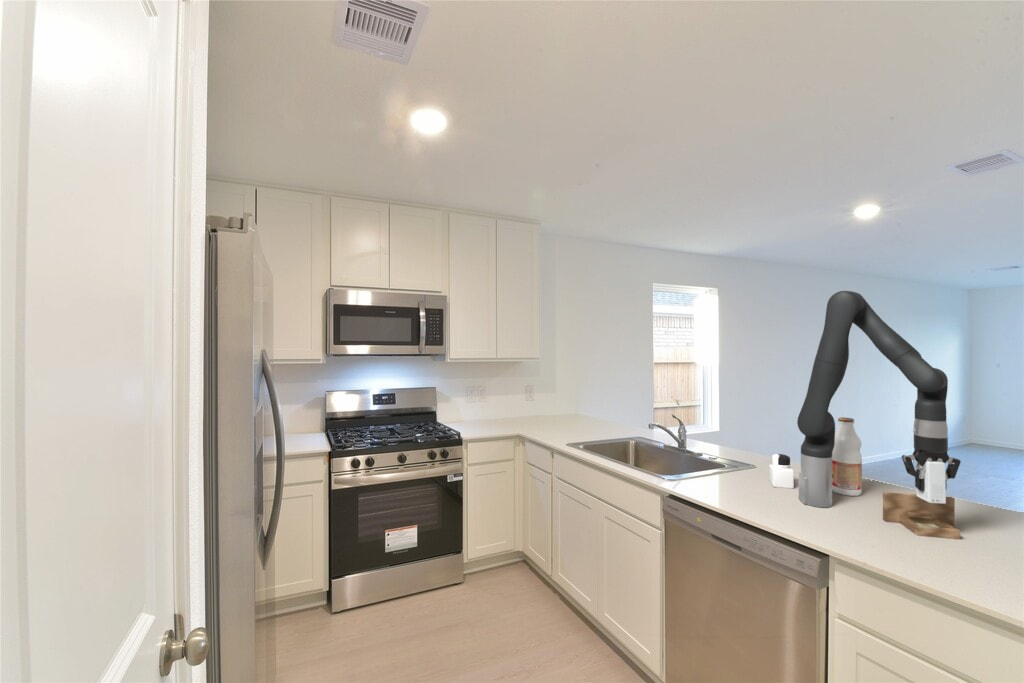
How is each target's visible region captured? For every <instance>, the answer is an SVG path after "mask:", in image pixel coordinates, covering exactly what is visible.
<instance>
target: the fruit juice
mask: <svg viewBox="0 0 1024 683" xmlns="http://www.w3.org/2000/svg"><path fill="white" fill-rule="evenodd" d="M837 422H838V426H837V429H836V430H835V444H834V449H833V451H832V492H834V493H836V494H839V495H842V496H848V497H849V496H850V497H859V496H861V495H862V491H863V489H862V488H863V477H862V476H863V473H862V472H863V464H862V463H863V461H862V460H863V458H862V454H861V448H862V441H861V439H860V437H859V435H858V434H857V432H856V430H855V427H854V424H855V419H854V418H851V417H841V416H840V417H838V418H837Z"/></svg>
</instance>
